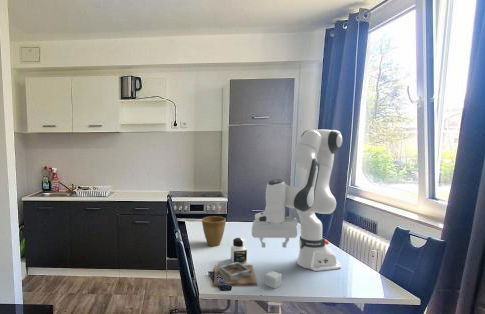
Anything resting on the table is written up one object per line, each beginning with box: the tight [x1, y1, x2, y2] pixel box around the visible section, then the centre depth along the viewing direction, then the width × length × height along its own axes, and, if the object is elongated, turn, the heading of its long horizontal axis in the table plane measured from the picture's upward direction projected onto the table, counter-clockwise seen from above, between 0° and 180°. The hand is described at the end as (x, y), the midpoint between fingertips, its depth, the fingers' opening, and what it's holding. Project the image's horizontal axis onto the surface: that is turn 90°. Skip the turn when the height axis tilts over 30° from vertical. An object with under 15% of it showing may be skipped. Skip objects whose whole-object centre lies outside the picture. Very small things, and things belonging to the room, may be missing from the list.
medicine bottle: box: [230, 237, 248, 264], centre depth 156 cm, size 7×7×12 cm
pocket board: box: [213, 262, 258, 287], centre depth 138 cm, size 19×19×4 cm
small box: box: [264, 270, 283, 289], centre depth 130 cm, size 6×6×5 cm
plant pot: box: [201, 215, 227, 247], centre depth 181 cm, size 15×15×16 cm
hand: (273, 247), depth 129 cm, fingers open, 8 cm apart
